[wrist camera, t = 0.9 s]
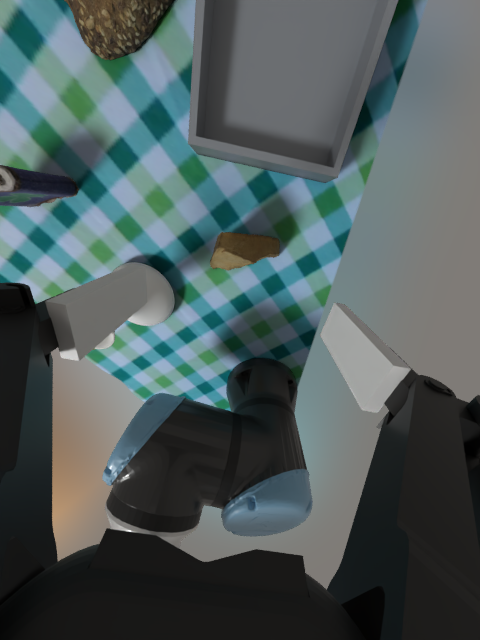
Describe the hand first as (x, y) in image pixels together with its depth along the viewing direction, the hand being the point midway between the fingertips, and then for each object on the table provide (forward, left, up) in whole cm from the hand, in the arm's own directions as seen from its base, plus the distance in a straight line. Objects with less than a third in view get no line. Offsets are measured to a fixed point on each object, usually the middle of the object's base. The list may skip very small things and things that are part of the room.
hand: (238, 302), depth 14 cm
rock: (0, 0, -21) cm, 21 cm away
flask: (+3, +30, -21) cm, 37 cm away
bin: (+22, 0, -21) cm, 30 cm away
